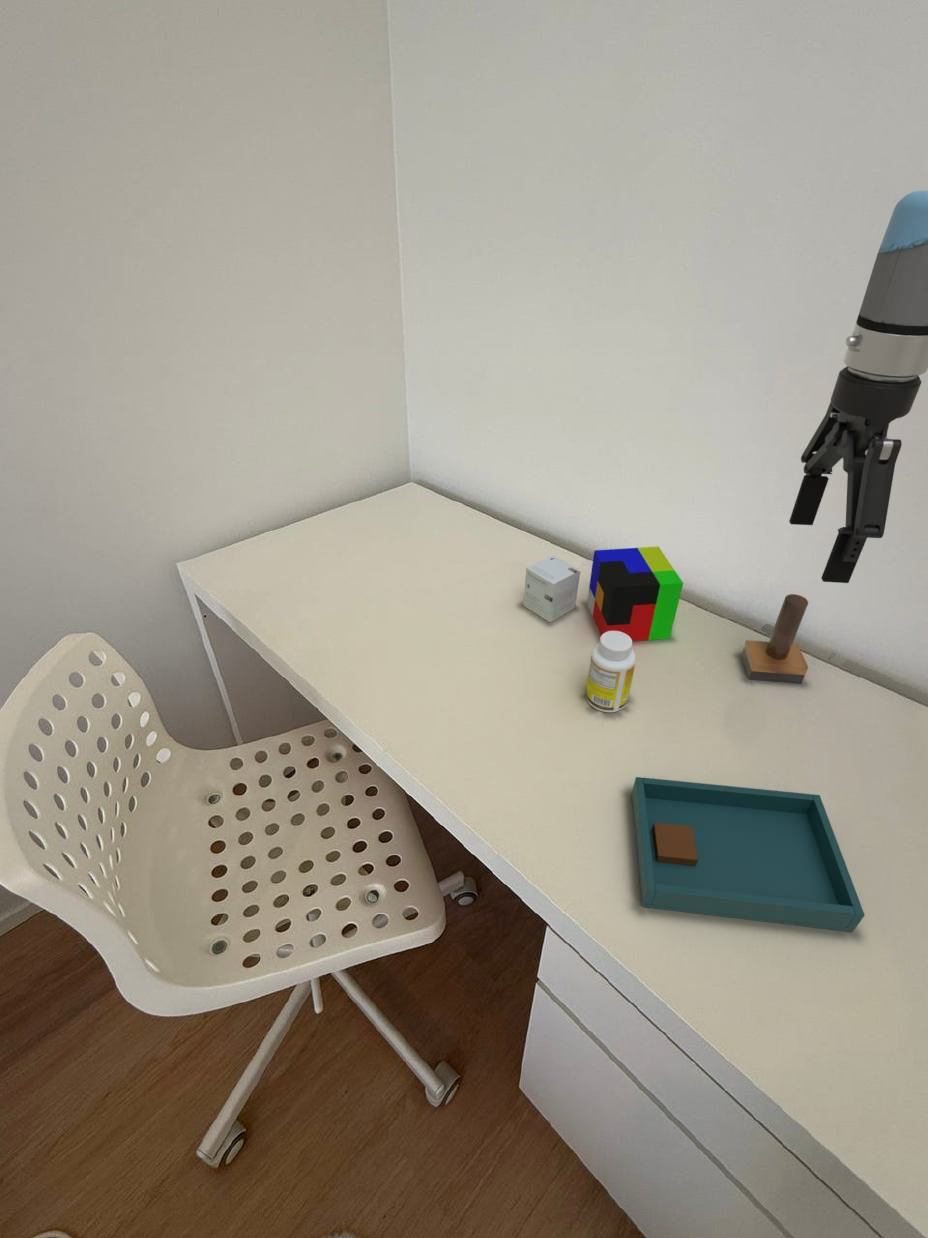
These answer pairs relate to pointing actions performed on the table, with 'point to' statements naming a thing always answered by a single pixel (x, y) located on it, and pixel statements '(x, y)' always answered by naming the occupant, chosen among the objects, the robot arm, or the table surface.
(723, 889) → the tray
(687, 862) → the brown square tile
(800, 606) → the wooden rubber stamp
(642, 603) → the puzzle toy
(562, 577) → the white cardboard box
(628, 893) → the table surface
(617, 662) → the supplement bottle
